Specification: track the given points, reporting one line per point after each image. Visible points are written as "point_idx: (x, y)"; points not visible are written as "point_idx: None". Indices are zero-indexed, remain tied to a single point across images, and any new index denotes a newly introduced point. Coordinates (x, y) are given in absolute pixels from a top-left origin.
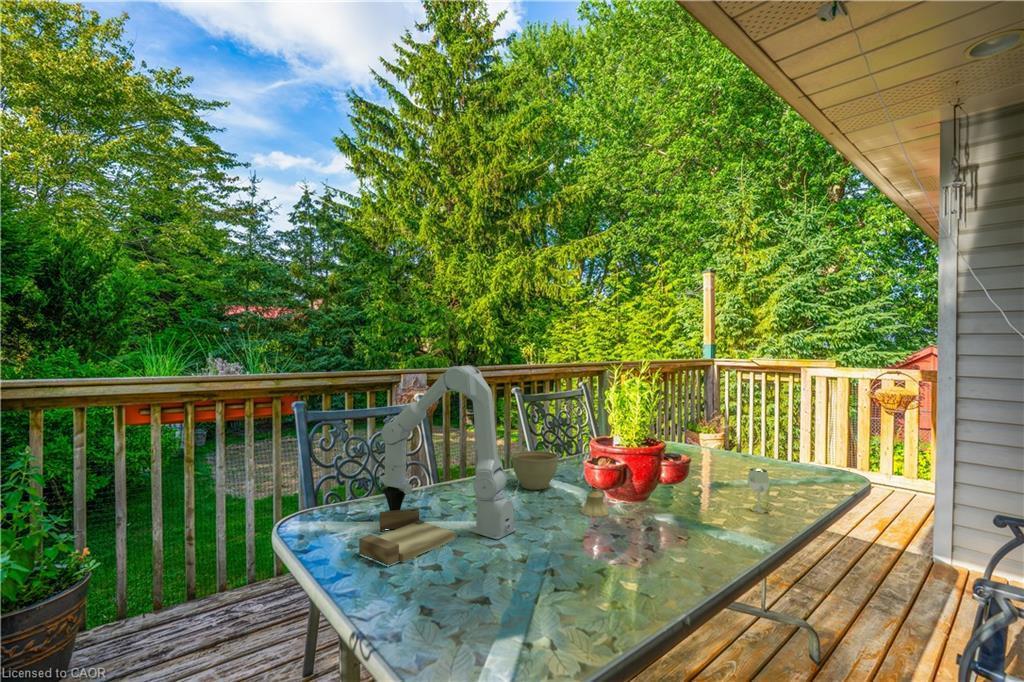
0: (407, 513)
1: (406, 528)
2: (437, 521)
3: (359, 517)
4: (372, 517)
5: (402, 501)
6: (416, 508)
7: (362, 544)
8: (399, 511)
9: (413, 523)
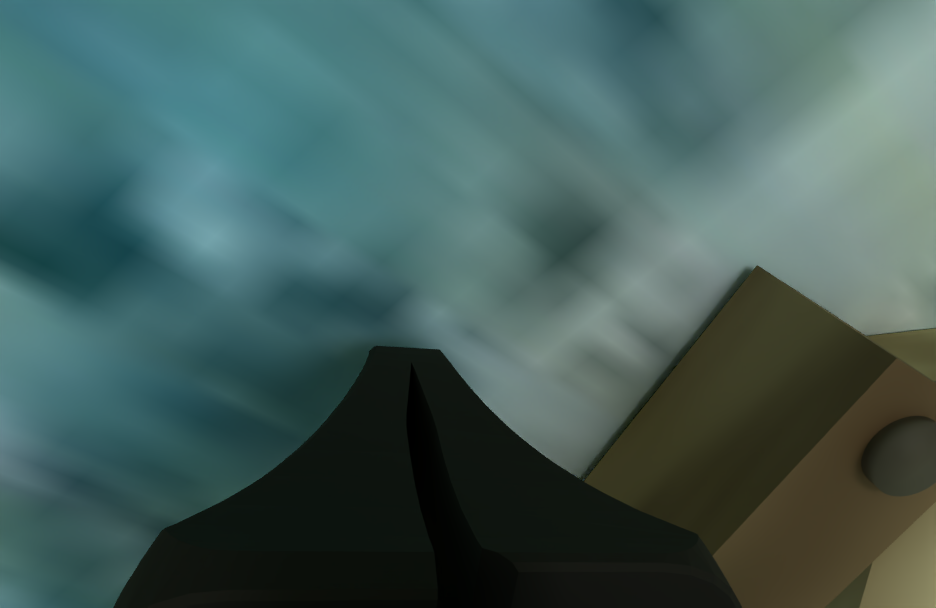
0: (871, 551)
1: (925, 577)
2: (929, 15)
3: (34, 582)
4: (135, 493)
5: (522, 441)
6: (885, 381)
7: None
8: (746, 600)
9: None
